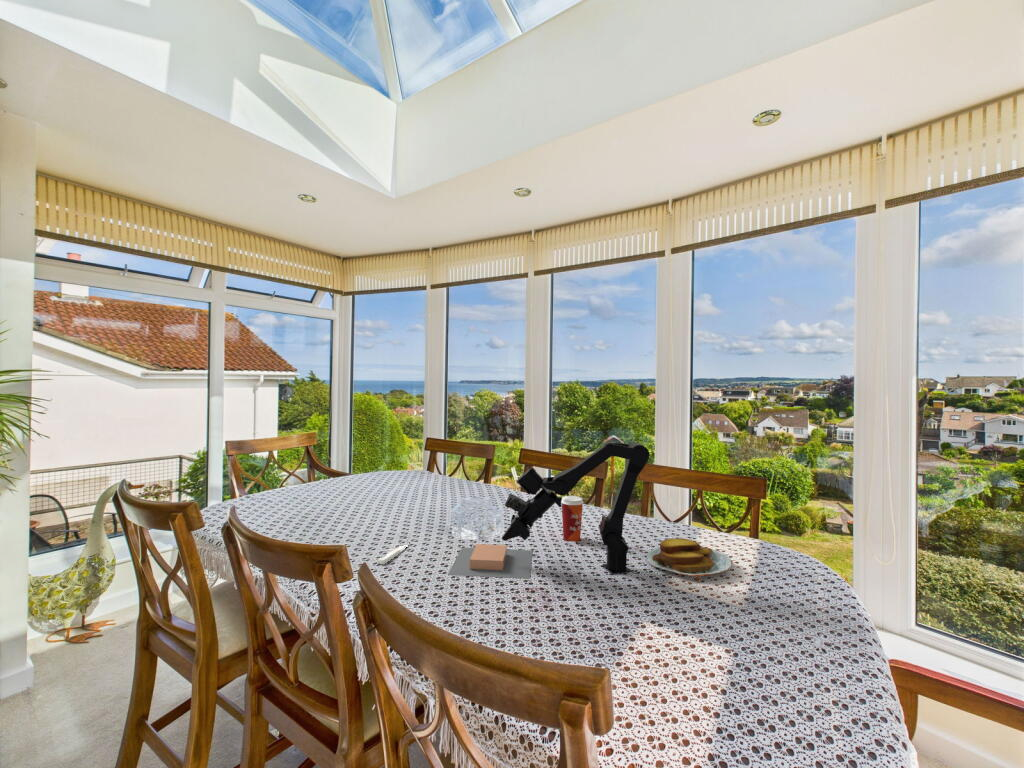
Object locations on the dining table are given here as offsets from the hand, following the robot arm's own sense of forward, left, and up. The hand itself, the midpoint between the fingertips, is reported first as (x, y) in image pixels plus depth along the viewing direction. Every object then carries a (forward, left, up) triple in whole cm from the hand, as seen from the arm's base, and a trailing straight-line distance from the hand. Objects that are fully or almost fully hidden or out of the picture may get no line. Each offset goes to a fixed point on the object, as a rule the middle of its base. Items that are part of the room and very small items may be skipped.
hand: (502, 539), depth 141 cm
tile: (0, -1, -6) cm, 6 cm away
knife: (+24, +31, -8) cm, 40 cm away
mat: (+1, +3, -8) cm, 8 cm away
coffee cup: (+15, -31, -8) cm, 35 cm away
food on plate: (-16, -56, -8) cm, 59 cm away
